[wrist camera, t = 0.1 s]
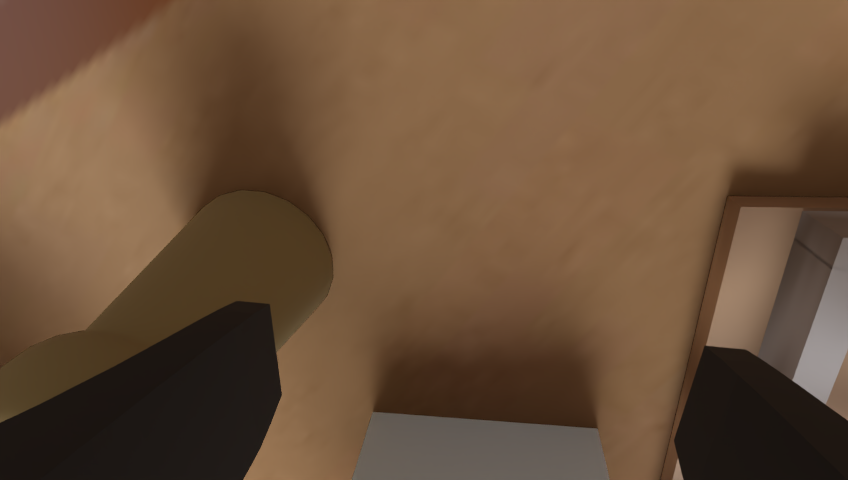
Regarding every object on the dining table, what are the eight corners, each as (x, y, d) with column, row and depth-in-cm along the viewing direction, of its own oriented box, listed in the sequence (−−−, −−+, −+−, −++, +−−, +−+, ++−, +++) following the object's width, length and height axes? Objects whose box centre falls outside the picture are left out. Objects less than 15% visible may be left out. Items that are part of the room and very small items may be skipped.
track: (890, 540, 22) (945, 615, 19) (651, 517, 23) (671, 584, 20) (1080, 199, 15) (1206, 241, 12) (727, 196, 16) (772, 232, 14)
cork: (364, 269, 20) (227, 536, 10) (272, 345, 22) (86, 622, 12) (248, 157, 18) (-48, 335, 8) (163, 251, 21) (-148, 477, 11)
